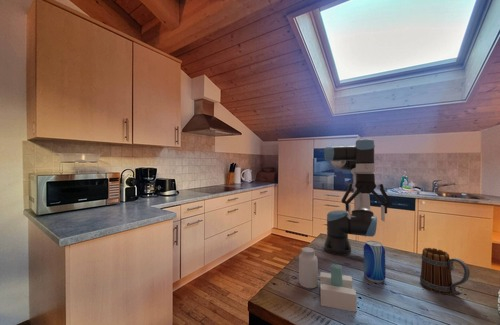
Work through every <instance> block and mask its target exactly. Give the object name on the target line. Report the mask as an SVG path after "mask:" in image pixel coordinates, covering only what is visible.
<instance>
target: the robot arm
mask: <svg viewBox="0 0 500 325" xmlns="http://www.w3.org/2000/svg"><path fill="white" fill-rule="evenodd" d="M323 150H324V152H323V153H324V154H323V156H324V161H327V162H330V164H331V165H332V166H333V167H334V168H336V169H339V170H341V171H343V170H345V171H350V173H351V175H353V177H352V180H353V181H352V182H353V183H352V182H350V183H348V186H347V189H346V191H345V193H344V195H343V197H342V198H341V203H342V204H345V210H340V209H339V210H333V211H329V212H328V213H327V214H326V227H327V228H326V239H325V242H324V245H323V247H324V250H325V251H326V252H328V253H330V254H334V255H339V256H346V255H350V254H351V253H352V247H351V243H350V240H349V235H352V236H353V235H354V236H361V237H375V235H376V232H377V226H378V225H377V224H378V217H377V216H376V215H374V212H373V211H372V209H371V200H370V194H372V195H373V196H374V197H375V198H376V199H377V200H378V202H379V203H380V220H381V221H382V222H386V220H385V218H386V215H385V214H387V213H388V207H389V206H392V205H393V203H392V200H391V199H390V197H389V196H388V194H387V192H386V191H385V188H384V184H383V183H378V184H376V183H375V182H376V181H375V180H376V176H375V175H376V174H375V171H376V170H375V169H376V168H375V140H374V139H372V138H361V139H357V140H356V141H355V145H342V146H341V145H340V146H338V145H337V146H332V145H331V146H326V147H324V149H323ZM376 188H377V189H378V190H379V191H380V193H381V195H382V196H383V198H384V199H383V198H381V195H379V194H378V193H377V191H375V189H376ZM352 190H353V193H352V194H351V196H349V195H350V193H351V191H352ZM347 198H348V199H347ZM384 200H385V201H384ZM352 201H353V209H351V207H352V205H351V204H350V203H352ZM381 204H382V205H381Z"/></svg>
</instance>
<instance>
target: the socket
mask: <svg viewBox="0 0 500 325" xmlns="http://www.w3.org/2000/svg"><path fill="white" fill-rule="evenodd" d="M319 275H320V276H319V277H320V278H319V279H320V306H323V307H328V308H332V309H333V308H334V309H338V310H343V311H344V310H345V311H348V312H349V311H350V312H355V313H357V310H358V309H357V307H358V306H357V304H358V303H357V292H356V289H355V288H353V278H352V276H351V275H345V274H344V275H343V274H342V287H338V286H332V285H331V272H330V273H329V272H324V271H320V274H319Z"/></svg>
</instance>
